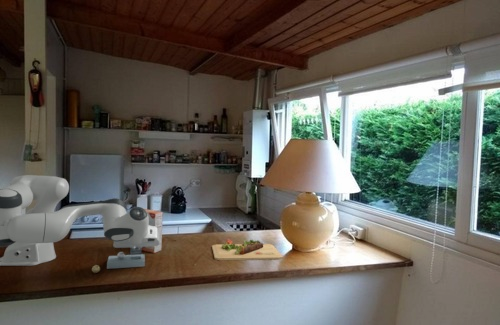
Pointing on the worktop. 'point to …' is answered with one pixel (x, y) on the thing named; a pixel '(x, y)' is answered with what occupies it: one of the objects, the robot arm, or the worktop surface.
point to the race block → (135, 251)
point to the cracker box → (156, 220)
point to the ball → (120, 255)
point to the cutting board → (245, 251)
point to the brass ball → (95, 268)
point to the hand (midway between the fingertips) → (136, 248)
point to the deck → (126, 261)
